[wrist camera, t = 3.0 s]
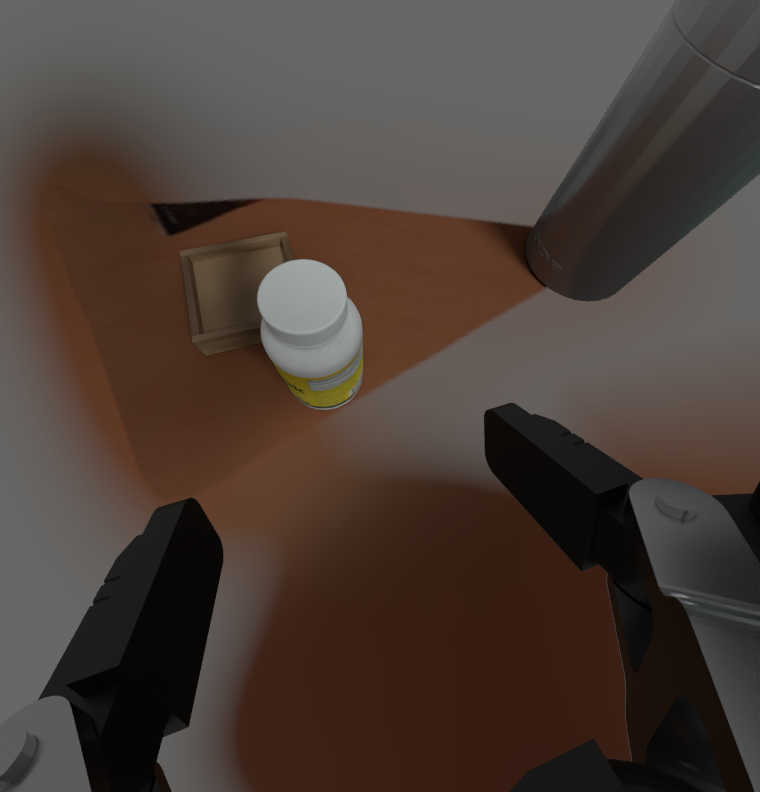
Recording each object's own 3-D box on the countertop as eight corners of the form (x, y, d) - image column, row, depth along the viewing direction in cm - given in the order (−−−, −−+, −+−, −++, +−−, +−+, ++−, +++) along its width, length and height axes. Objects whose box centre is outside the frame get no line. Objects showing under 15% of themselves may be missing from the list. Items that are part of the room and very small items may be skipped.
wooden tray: (291, 250, 27) (286, 231, 25) (313, 330, 25) (309, 316, 23) (192, 269, 26) (179, 251, 24) (206, 355, 23) (192, 342, 21)
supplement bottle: (279, 357, 24) (226, 262, 14) (347, 335, 25) (339, 232, 15) (301, 423, 22) (258, 364, 13) (373, 396, 23) (382, 324, 14)
